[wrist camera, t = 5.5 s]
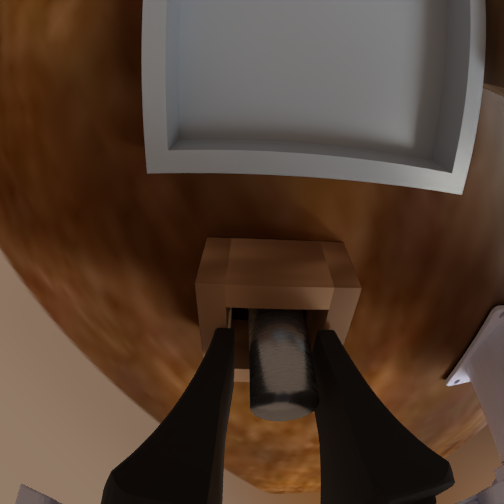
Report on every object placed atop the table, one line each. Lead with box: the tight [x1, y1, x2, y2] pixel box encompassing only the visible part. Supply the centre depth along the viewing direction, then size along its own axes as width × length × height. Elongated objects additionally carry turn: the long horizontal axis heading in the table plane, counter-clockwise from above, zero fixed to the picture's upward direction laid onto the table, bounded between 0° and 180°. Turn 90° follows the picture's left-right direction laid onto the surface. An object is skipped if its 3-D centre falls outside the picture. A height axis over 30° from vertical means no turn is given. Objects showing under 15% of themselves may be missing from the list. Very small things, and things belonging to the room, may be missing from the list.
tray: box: [142, 0, 486, 195], centre depth 7 cm, size 10×10×2 cm
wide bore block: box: [195, 237, 362, 382], centre depth 13 cm, size 6×6×3 cm
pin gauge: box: [248, 308, 320, 421], centre depth 11 cm, size 2×2×6 cm
